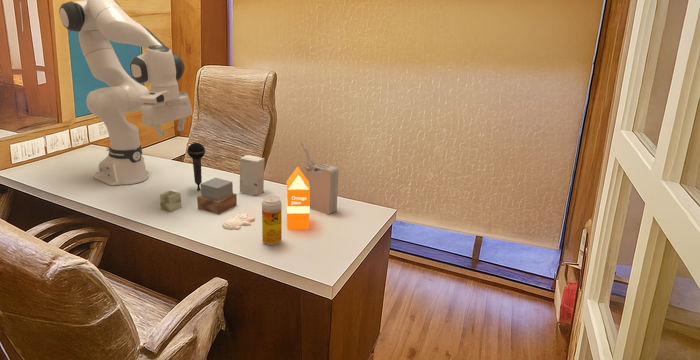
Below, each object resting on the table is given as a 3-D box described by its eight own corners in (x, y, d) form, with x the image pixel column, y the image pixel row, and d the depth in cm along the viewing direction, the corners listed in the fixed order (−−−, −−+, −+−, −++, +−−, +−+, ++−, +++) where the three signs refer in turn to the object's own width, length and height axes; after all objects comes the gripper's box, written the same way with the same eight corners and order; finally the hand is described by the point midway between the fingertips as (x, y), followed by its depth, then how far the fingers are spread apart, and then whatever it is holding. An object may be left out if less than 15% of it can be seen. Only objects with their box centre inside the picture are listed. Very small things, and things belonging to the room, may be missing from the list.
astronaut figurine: (259, 223, 167) (259, 215, 166) (230, 233, 159) (230, 225, 158) (245, 215, 173) (245, 208, 172) (216, 224, 165) (215, 216, 164)
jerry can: (297, 204, 184) (298, 141, 175) (306, 200, 188) (307, 139, 179) (328, 215, 176) (330, 150, 167) (336, 211, 180) (339, 147, 171)
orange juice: (308, 218, 172) (309, 166, 166) (309, 229, 164) (310, 174, 157) (286, 218, 171) (286, 166, 164) (286, 229, 163) (286, 174, 156)
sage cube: (160, 209, 173) (159, 194, 171) (171, 205, 177) (169, 190, 175) (171, 212, 171) (170, 197, 169) (181, 208, 175) (180, 193, 173)
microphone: (202, 194, 188) (199, 146, 181) (186, 192, 189) (183, 144, 183) (210, 188, 195) (208, 141, 188) (195, 186, 196) (192, 139, 189)
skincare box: (239, 193, 192) (238, 158, 187) (246, 188, 197) (246, 154, 192) (258, 196, 189) (257, 161, 184) (265, 191, 195) (264, 156, 190)
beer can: (267, 248, 150) (267, 204, 145) (259, 240, 155) (258, 197, 149) (284, 243, 153) (284, 200, 148) (276, 236, 158) (275, 194, 153)
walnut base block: (197, 209, 176) (197, 196, 174) (215, 200, 184) (215, 188, 182) (219, 215, 172) (218, 202, 170) (236, 206, 180) (236, 193, 179)
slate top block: (201, 196, 174) (200, 183, 173) (216, 189, 181) (215, 177, 179) (218, 201, 171) (217, 188, 169) (232, 194, 178) (232, 181, 176)
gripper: (180, 89, 174) (185, 126, 178) (135, 98, 156) (142, 139, 161) (193, 90, 171) (198, 128, 176) (150, 99, 154) (156, 140, 158)
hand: (171, 133), depth 168 cm, fingers open, 8 cm apart
